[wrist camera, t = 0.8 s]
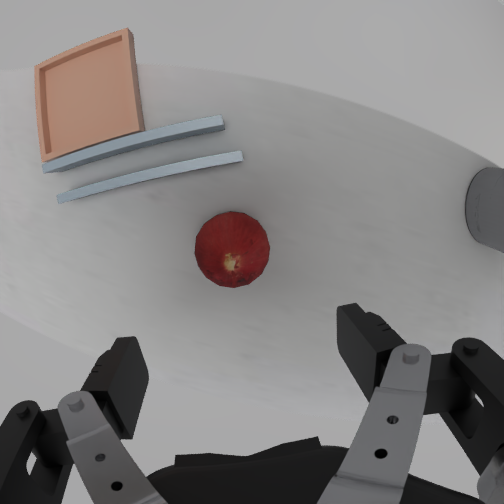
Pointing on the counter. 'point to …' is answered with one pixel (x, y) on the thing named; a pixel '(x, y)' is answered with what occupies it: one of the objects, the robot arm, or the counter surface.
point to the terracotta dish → (88, 96)
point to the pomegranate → (232, 249)
